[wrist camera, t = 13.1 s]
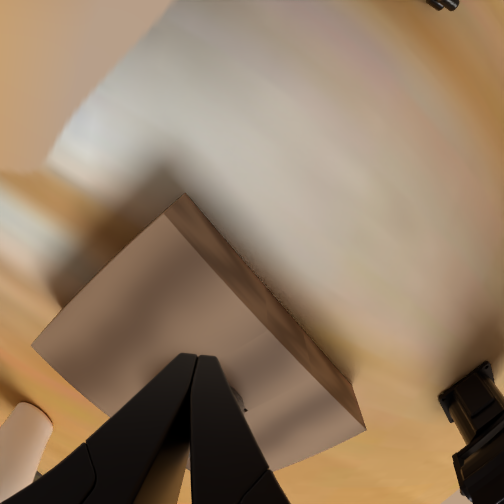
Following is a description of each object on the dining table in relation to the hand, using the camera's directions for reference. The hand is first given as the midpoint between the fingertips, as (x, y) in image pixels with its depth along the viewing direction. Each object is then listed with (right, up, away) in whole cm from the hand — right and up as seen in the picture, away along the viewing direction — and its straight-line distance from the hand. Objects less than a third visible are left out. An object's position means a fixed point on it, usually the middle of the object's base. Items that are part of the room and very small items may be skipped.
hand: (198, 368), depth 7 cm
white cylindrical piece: (-24, -17, +21) cm, 36 cm away
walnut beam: (-2, -5, +16) cm, 17 cm away
